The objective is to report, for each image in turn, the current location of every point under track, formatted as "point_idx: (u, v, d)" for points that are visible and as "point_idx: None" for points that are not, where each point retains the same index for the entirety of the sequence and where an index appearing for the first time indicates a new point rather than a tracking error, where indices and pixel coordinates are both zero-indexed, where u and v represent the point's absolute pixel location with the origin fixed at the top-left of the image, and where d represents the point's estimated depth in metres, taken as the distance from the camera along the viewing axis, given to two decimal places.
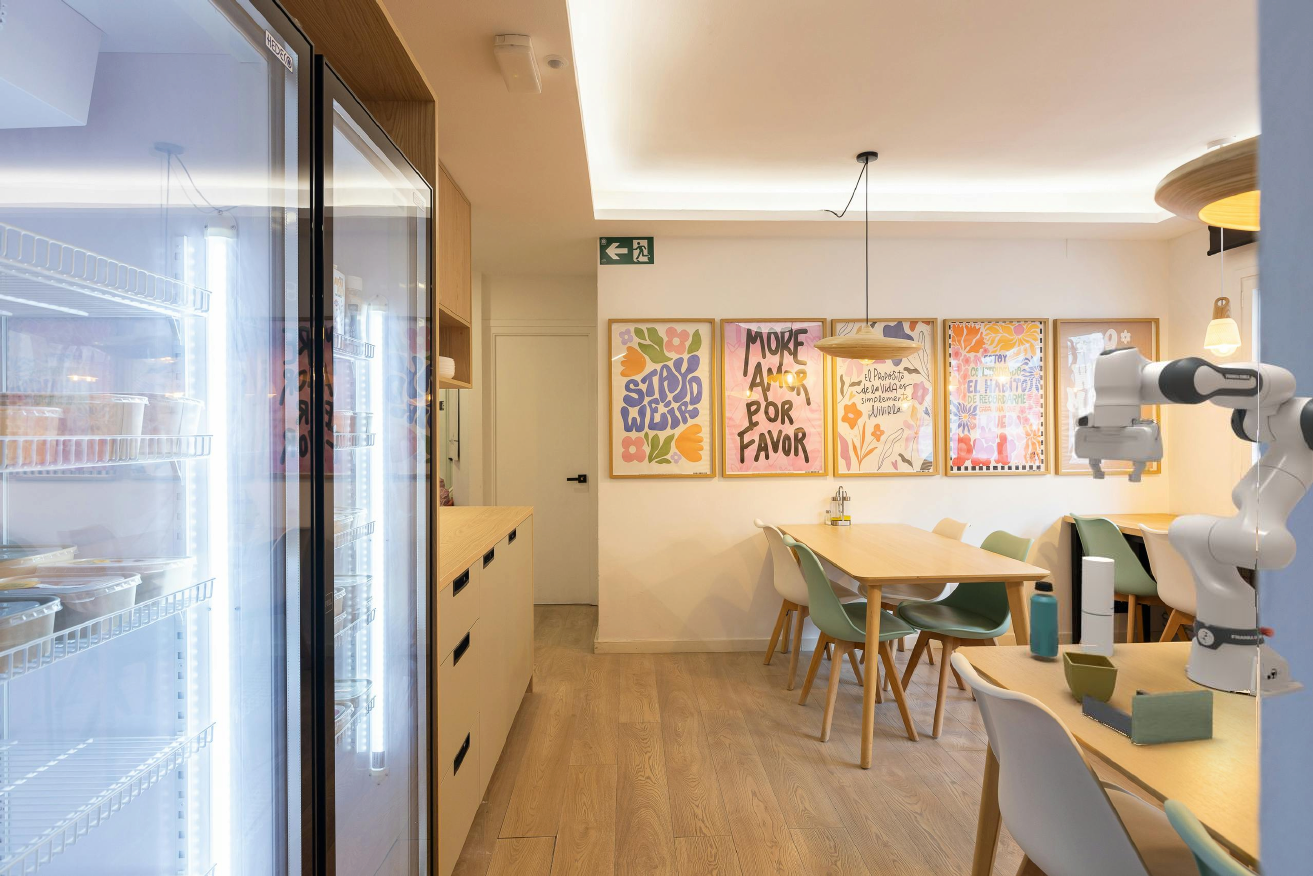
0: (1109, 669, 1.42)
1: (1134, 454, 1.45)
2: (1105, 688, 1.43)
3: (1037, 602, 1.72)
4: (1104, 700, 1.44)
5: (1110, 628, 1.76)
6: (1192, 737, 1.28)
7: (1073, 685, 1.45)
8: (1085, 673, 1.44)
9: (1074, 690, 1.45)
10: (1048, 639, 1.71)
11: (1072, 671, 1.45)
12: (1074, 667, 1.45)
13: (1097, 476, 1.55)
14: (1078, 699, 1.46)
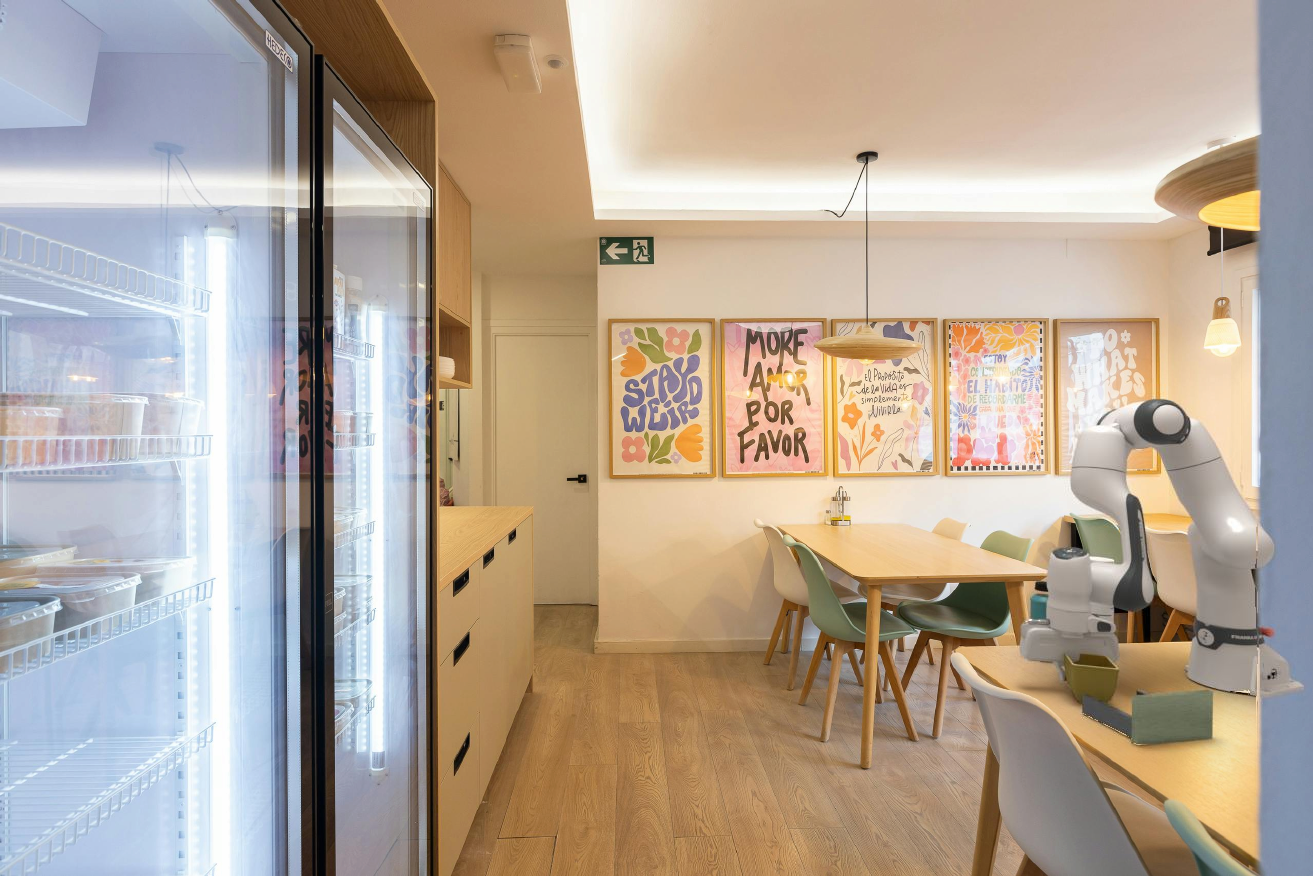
0: (1111, 669, 1.42)
1: None
2: (1107, 688, 1.43)
3: (1037, 602, 1.72)
4: (1105, 700, 1.43)
5: None
6: (1192, 737, 1.28)
7: (1075, 686, 1.45)
8: (1087, 674, 1.43)
9: (1076, 691, 1.45)
10: None
11: (1074, 672, 1.44)
12: (1076, 668, 1.44)
13: None
14: (1079, 700, 1.45)
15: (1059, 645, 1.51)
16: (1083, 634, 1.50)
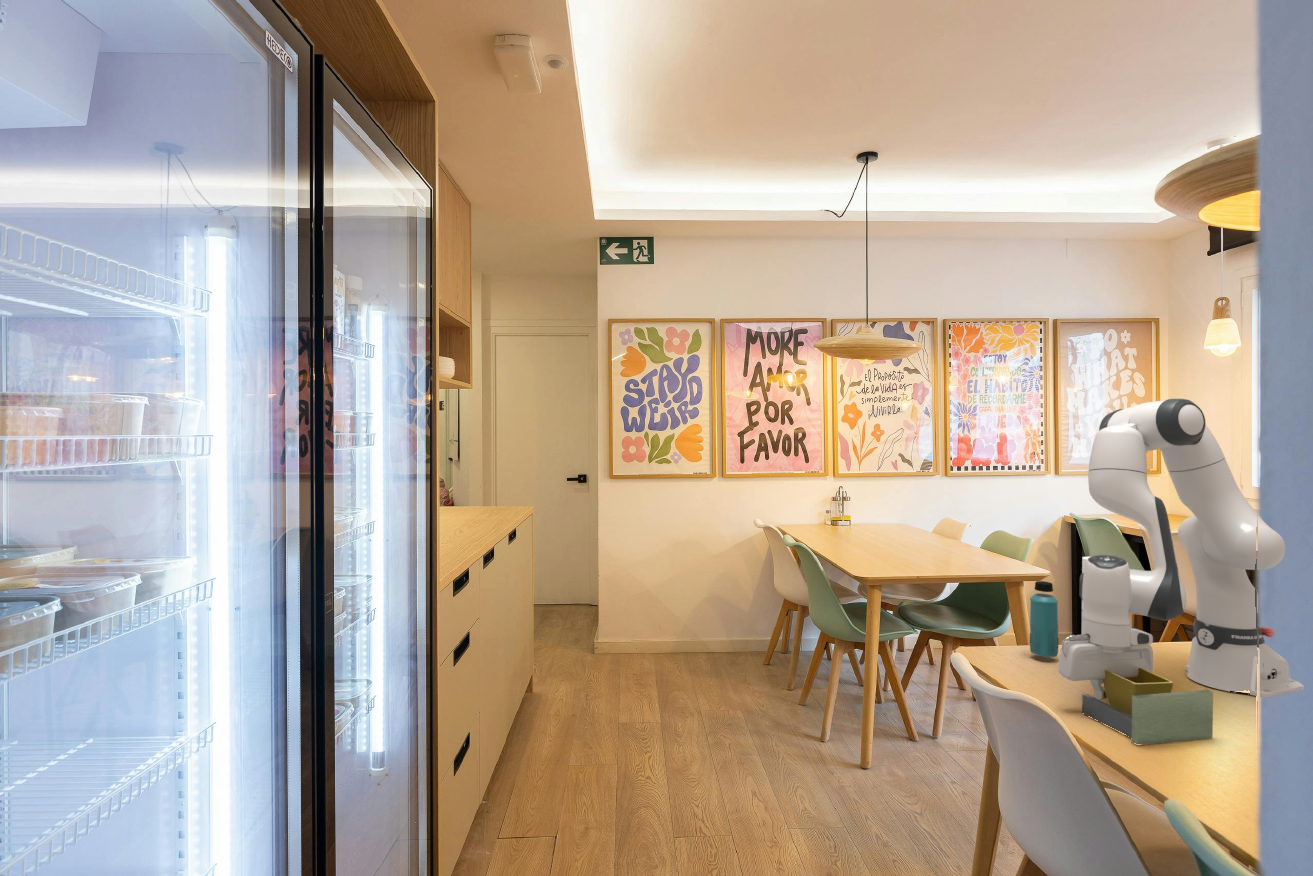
0: (1167, 684, 1.34)
1: None
2: None
3: (1037, 602, 1.72)
4: None
5: None
6: (1192, 737, 1.28)
7: None
8: (1147, 691, 1.34)
9: None
10: (1048, 639, 1.71)
11: (1135, 691, 1.33)
12: (1138, 687, 1.33)
13: None
14: None
15: (1100, 661, 1.41)
16: (1123, 648, 1.41)
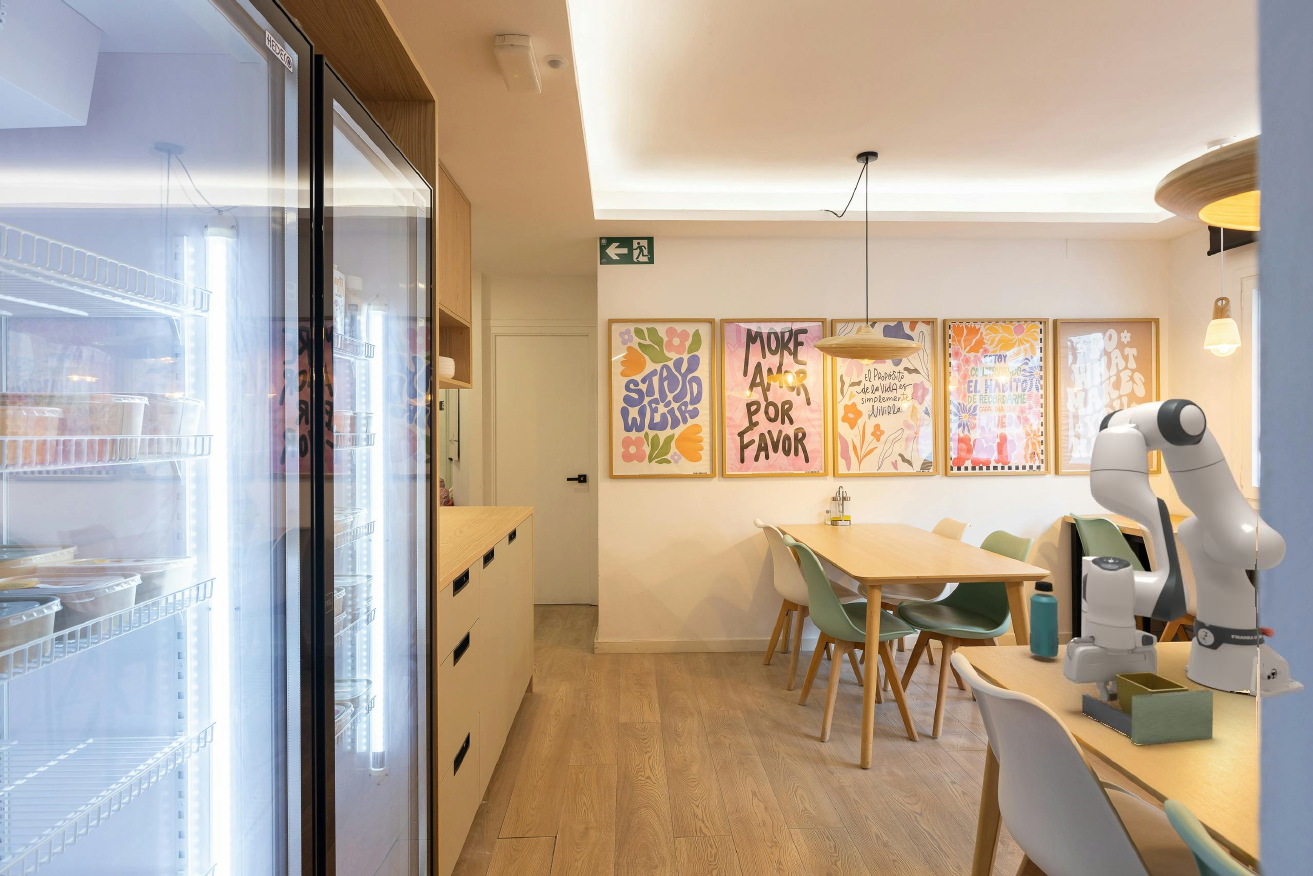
0: (1183, 690, 1.31)
1: None
2: None
3: (1037, 602, 1.72)
4: None
5: None
6: (1192, 737, 1.28)
7: None
8: None
9: None
10: (1048, 639, 1.71)
11: None
12: None
13: None
14: None
15: (1105, 663, 1.40)
16: (1127, 650, 1.40)
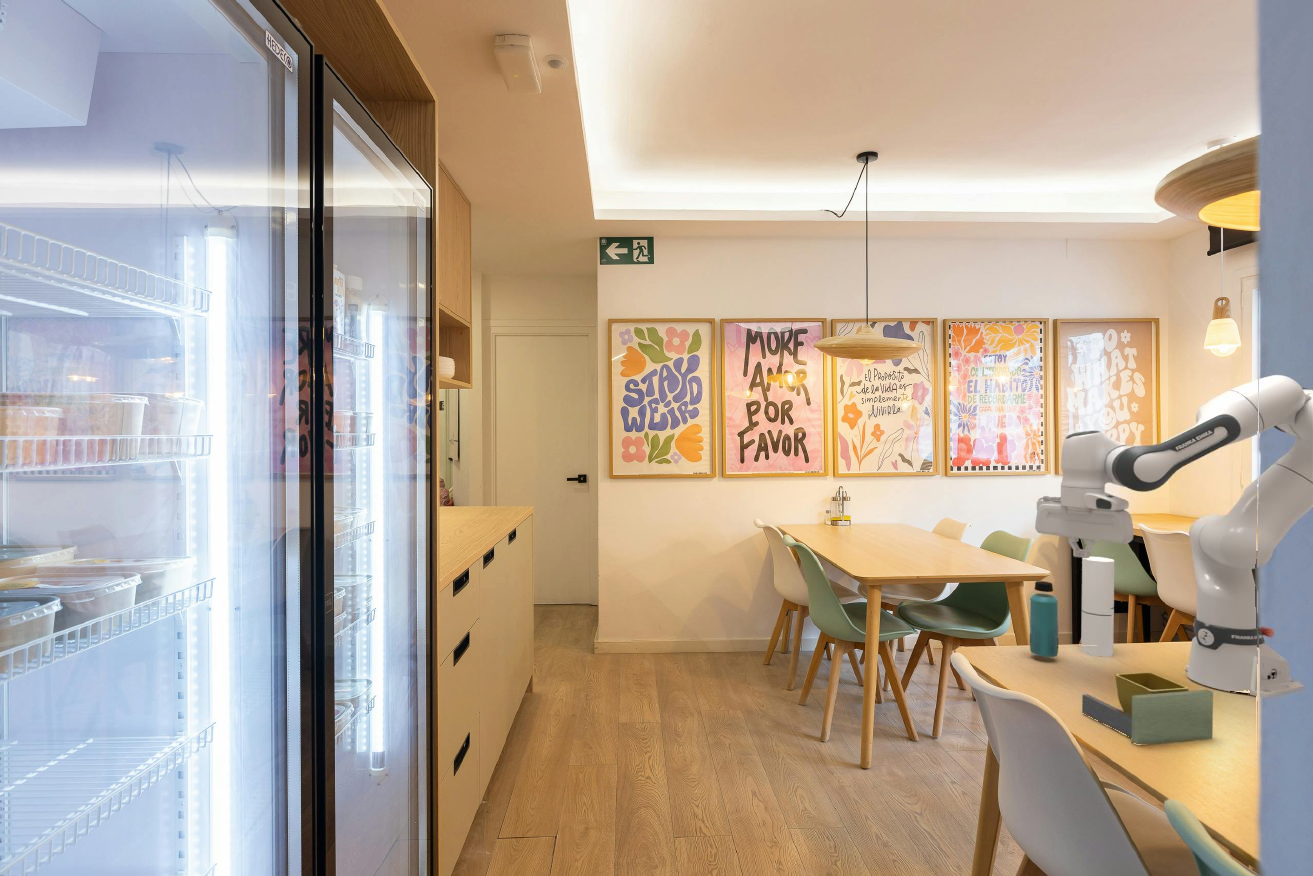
0: (1183, 690, 1.31)
1: None
2: None
3: (1037, 602, 1.72)
4: None
5: (1110, 628, 1.76)
6: (1192, 737, 1.28)
7: None
8: None
9: None
10: (1048, 639, 1.71)
11: None
12: None
13: None
14: None
15: (1066, 520, 1.60)
16: (1086, 511, 1.56)
